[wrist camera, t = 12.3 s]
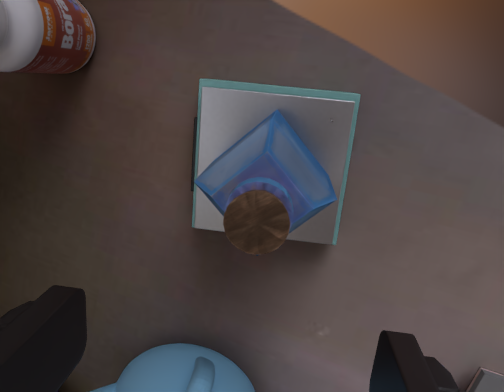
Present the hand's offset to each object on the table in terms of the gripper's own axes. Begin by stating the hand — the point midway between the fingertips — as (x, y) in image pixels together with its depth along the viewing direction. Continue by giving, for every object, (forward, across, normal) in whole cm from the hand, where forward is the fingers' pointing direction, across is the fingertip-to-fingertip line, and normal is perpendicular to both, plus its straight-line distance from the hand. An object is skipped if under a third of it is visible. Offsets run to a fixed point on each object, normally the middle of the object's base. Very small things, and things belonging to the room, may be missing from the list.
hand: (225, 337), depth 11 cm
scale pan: (+21, 0, 0) cm, 21 cm away
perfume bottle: (+21, 0, 0) cm, 21 cm away
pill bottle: (+25, +18, -8) cm, 32 cm away
